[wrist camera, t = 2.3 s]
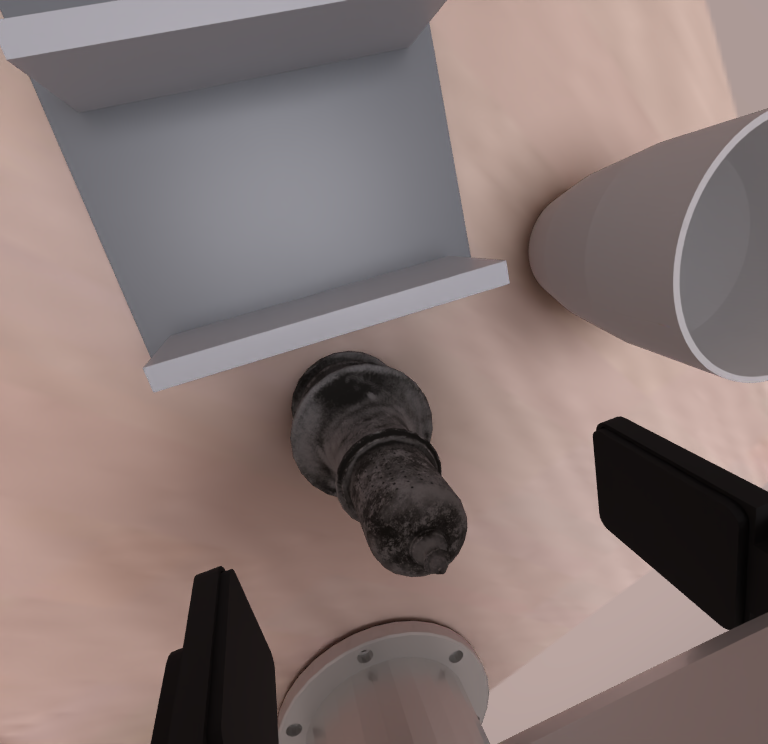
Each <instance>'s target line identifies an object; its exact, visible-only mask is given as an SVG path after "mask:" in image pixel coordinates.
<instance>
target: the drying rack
mask: <svg viewBox="0 0 768 744" xmlns="http://www.w3.org/2000/svg"><path fill="white" fill-rule="evenodd" d="M446 1H447V0H0V10H1V12H2V14H3V17H4V19H0V46H1V48H2V50H3V53H4V55H5V57H6V60H8V61H9V62H10V63H12V64H13V65H14V66H16V67H17V68H19V69H20V70H21V71H23V72H24V73H25V74H27V75H28V76H29V77H30V79H31V81H32V84H33V86H34V88H35V91H36V93H37V95H38V98H39V100H40V102H41V105H42V107H43V109H44V111H45V114H46V116H47V118H48V121H49V123H50V125H51V128H52V130H53V132H54V135H55V137H56V139H57V142H58V144H59V146H60V148H61V151H62V153H63V155H64V158H65V160H66V162H67V165H68V167H69V169H70V172H71V174H72V176H73V179H74V181H75V183H76V186H77V188H78V190H79V192H80V195H81V197H82V199H83V202H84V204H85V206H86V209H87V211H88V213H89V216H90V218H91V220H92V223H93V225H94V227H95V230H96V232H97V234H98V236H99V239H100V241H101V243H102V246H103V248H104V250H105V253H106V255H107V257H108V260H109V262H110V264H111V267H112V269H113V271H114V273H115V276H116V278H117V280H118V283H119V285H120V287H121V290H122V292H123V294H124V297H125V299H126V301H127V304H128V306H129V308H130V311H131V313H132V315H133V317H134V320H135V322H136V324H137V327H138V329H139V331H140V334H141V336H142V338H143V341H144V343H145V345H146V348H147V350H148V352H149V355H150V357H151V359H150V360H149V361H148V362H147V364H146V365H145V366H144V367H143V370H144V372H145V374H146V377H147V379H148V381H149V383H150V386H151V388H152V390H153V392H157V391H160V390H164V389H167V388H170V387H173V386H177V385H180V384H183V383H186V382H190V381H193V380H196V379H200V378H203V377H206V376H209V375H213V374H216V373H219V372H222V371H226V370H229V369H232V368H235V367H239V366H242V365H245V364H249V363H252V362H255V361H258V360H262V359H265V358H268V357H271V356H275V355H278V354H281V353H285V352H288V351H291V350H294V349H298V348H301V347H304V346H307V345H311V344H314V343H317V342H320V341H324V340H327V339H330V338H334V337H337V336H340V335H343V334H347V333H350V332H353V331H356V330H360V329H363V328H366V327H370V326H373V325H376V324H379V323H383V322H386V321H389V320H392V319H396V318H399V317H402V316H405V315H409V314H412V313H415V312H419V311H422V310H425V309H428V308H432V307H435V306H438V305H441V304H445V303H448V302H451V301H455V300H458V299H461V298H464V297H468V296H471V295H474V294H477V293H481V292H484V291H487V290H490V289H494V288H497V287H500V286H504V285H507V284H510V282H509V276H508V269H507V263H506V260H494V259H482V258H471V255H470V250H469V244H468V238H467V233H466V227H465V222H464V216H463V210H462V205H461V199H460V193H459V188H458V182H457V177H456V171H455V165H454V160H453V154H452V148H451V143H450V137H449V131H448V126H447V120H446V115H445V109H444V103H443V98H442V92H441V86H440V81H439V75H438V70H437V64H436V58H435V53H434V47H433V41H432V36H431V30H430V25H429V22H430V20H431V19H432V18H433V17H434V15H435V14H436V13H437V12H438V11H439V9H440V8H441V7H442V6H443V4H444V3H445V2H446Z"/></svg>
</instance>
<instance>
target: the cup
mask: <svg viewBox="0 0 768 744" xmlns="http://www.w3.org/2000/svg"><path fill="white" fill-rule="evenodd" d="M529 262H530V266H531V270H532V272H533V275H534V277H535V278H536V280H537V282H538V283H539V284H540V285H541V286H542V287H543V288H544V289H545V290H546V291H547V292H548V293H549V294H550V295H552V296H553V297H554V298H555V299H556V300H557V301H558V302H559V303H560V304H562V305H563V306H564V307H565V308H566V309H567V310H569V311H570V312H572V313H573V314H575V315H577V316H579V317H580V318H582V319H584V320H586V321H588V322H590V323H592V324H594V325H595V326H597V327H599V328H601V329H603V330H605V331H607V332H608V333H610V334H612V335H614V336H616V337H618V338H620V339H621V340H623V341H625V342H627V343H630V344H633V345H635V346H638V347H641V348H643V349H646V350H649V351H652V352H654V353H657V354H660V355H663V356H665V357H668V358H671V359H673V360H676V361H679V362H682V363H684V364H687V365H690V366H692V367H695V368H698V369H701V370H703V371H706V372H709V373H712V374H714V375H717V376H720V377H722V378H725V379H728V380H732V381H736V382H743V383H757V382H764V381H768V108H767V109H764V110H761V111H758V112H755V113H752V114H749V115H745V116H742V117H739V118H736V119H732V120H729V121H726V122H723V123H720V124H717V125H714V126H710V127H707V128H704V129H701V130H698V131H695V132H691V133H688V134H685V135H682V136H679V137H676V138H672V139H669V140H666V141H663V142H660V143H658V144H656V145H653V146H651V147H649V148H647V149H645V150H643V151H640V152H638V153H636V154H634V155H632V156H629V157H627V158H625V159H623V160H621V161H619V162H616V163H614V164H612V165H610V166H608V167H606V168H603V169H601V170H599V171H597V172H595V173H593V174H591V175H589V176H587V177H585V178H584V179H582V180H581V181H580V182H578V183H577V184H576V185H574V186H573V187H572V188H570V189H569V190H567V191H566V192H565V193H563V194H562V195H561V196H559V197H558V198H557V199H555V200H554V201H553V202H551V203H550V204H549V205H548V206H547V207H546V208H545V209H544V210H543V211H542V213H541V214H540V216H539V217H538V219H537V221H536V223H535V225H534V227H533V230H532V233H531V236H530V241H529Z"/></svg>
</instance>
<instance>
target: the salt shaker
mask: <svg viewBox="0 0 768 744" xmlns="http://www.w3.org/2000/svg"><path fill="white" fill-rule="evenodd" d="M291 409H292V415H293V421H292V429H291V437H290V439H291V446H292V452H293V457H294V459H295V461H296V464H297V466H298V468H299V470H300V472H301V473H302V474H303V475H304V476H305V478H306V479H307V480H308V481H309V482H310V483H311V484H312V485H313V486H315V487H316V488H318V489H320V490H321V491H323V492H325V493H326V494H329V495H332V496H336V497H338V499H339V501H340V503H341V505H342V507H343V509H344V510H345V511H346V512H347V513H348V514H349V515H350V517H351V518H353V519H355V520H356V521H358V522H360V524H361V527H362V529H363V532H364V535H365V537H366V540H367V543H368V545H369V547H370V549H371V551H372V553H373V555H374V556H375V558H376V559H377V560H378V561H379V562H380V563H381V564H382V565H383V566H384V567H385V568H386V569H388V570H390V571H391V572H393V573H395V574H399V575H404V576H409V577H421V576H426V575H430V574H444V573H445V572H446V570H447V568H448V564H449V563H451V562H452V561H453V560H454V558H455V557H456V556H457V555H458V553H459V551H460V549H461V547H462V545H463V543H464V540H465V537H466V532H467V516H466V513H465V511H464V508H463V505H462V503H461V500H460V499H459V498H458V496H457V495H456V494H455V492H454V491H453V490H452V489H451V487H450V486H449V485H448V484H447V482H446V481H445V480H444V479H443V477H442V476H441V475H442V474H441V462H440V460H439V457H438V454H437V452H436V450H435V449H434V448H433V446H432V445H431V444H430V440H431V435H432V430H433V429H432V413H431V410H430V407H429V404H428V401H427V399H426V396H425V395H424V394H423V392H422V391H421V389H420V388H419V387H418V385H417V384H416V383H415V382H414V381H413V380H411V379H410V378H409V377H408V376H406V375H405V374H404V373H402V372H401V371H398V370H396V369H393V368H390V367H388V366H386V365H385V364H384V363H383V362H381V361H380V360H379V359H377V358H376V357H373V356H370V355H368V354H365V353H361V352H352V351H347V352H340V353H334V354H332V355H329V356H327V357H325V358H322V359H320V360H319V361H317V362H316V363H315V364H314V365H312V366H311V367H310V368H308V369H307V371H306V372H305V373H304V375H303V376H302V377H301V378H300V380H299V381H298V384H297V386H296V389H295V391H294V393H293V400H292V407H291Z"/></svg>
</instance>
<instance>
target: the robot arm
mask: <svg viewBox="0 0 768 744" xmlns="http://www.w3.org/2000/svg"><path fill="white" fill-rule="evenodd" d="M593 445H594V457H595V468H596V480H597V491H598V503H599V514H600V518H601V521H602V523H603V524H604V526H605V527H606V528H607V529H608V530H609V531H610V532H611V533H613V534H614V535H615V536H616V537H617V538H618V539H620V540H621V541H622V542H623V543H624V544H625V545H627V546H628V547H629V548H630V549H631V550H633V551H634V552H635V553H636V554H637V555H638V556H640V557H641V558H642V559H643V560H644V561H645V562H647V563H648V564H649V565H650V566H651V567H652V568H654V569H655V570H656V571H657V572H658V573H660V574H661V575H662V576H663V577H664V578H665V579H667V580H668V581H669V582H670V583H671V584H673V585H674V586H675V587H676V588H677V589H678V590H679V591H681V592H682V593H683V594H684V595H685V596H686V597H688V598H689V599H690V600H691V601H692V602H694V603H695V604H696V605H697V606H698V607H700V608H701V609H702V610H703V611H704V612H705V613H707V614H708V615H709V616H710V617H711V618H712V619H714V620H715V621H716V622H717V623H718V624H719V625H721V626H722V627H723V628H725V629H728V630H729V631H727V632H725V633H723V634H721V635H719V636H717V637H715V638H713V639H711V640H709V641H706V642H705V643H702V644H700V645H698V646H696V647H694V648H692V649H690V650H688V651H686V652H684V653H682V654H680V655H678V656H676V657H673V658H671V659H669V660H667V661H665V662H663V663H661V664H659V665H657V666H655V667H653V668H651V669H649V670H646V671H645V672H642V673H640V674H638V675H636V676H634V677H632V678H630V679H628V680H626V681H625V682H622V683H620V684H618V685H616V686H614V687H612V688H610V689H608V690H606V691H604V692H602V693H600V694H598V695H595V696H593V697H591V698H589V699H587V700H585V701H583V702H581V703H579V704H577V705H575V706H573V707H571V708H569V709H567V710H565V711H563V712H561V713H559V714H557V715H555V716H553V717H551V718H549V719H547V720H545V721H543V722H541V723H539V724H537V725H534V726H532V727H531V728H528V729H526V730H524V731H522V732H520V733H518V734H516V735H514V736H512V737H510V738H508V739H506V740H504V741H502V742H500V743H498V744H768V492H767V491H765V490H763V489H762V488H760V487H758V486H756V485H754V484H752V483H750V482H748V481H746V480H744V479H742V478H740V477H738V476H736V475H734V474H732V473H731V472H729V471H727V470H725V469H723V468H721V467H719V466H717V465H715V464H713V463H711V462H709V461H707V460H705V459H703V458H701V457H700V456H698V455H696V454H694V453H692V452H690V451H688V450H686V449H684V448H682V447H680V446H678V445H676V444H674V443H672V442H670V441H668V440H667V439H665V438H663V437H661V436H659V435H657V434H655V433H653V432H651V431H649V430H647V429H645V428H643V427H641V426H639V425H637V424H636V423H634V422H632V421H630V420H628V419H626V418H624V417H621V416H620V417H616V418H613V419H610V420H608V421H605V422H602V423H600V424H598V426H597V428H596V431H595V432H594V433H593ZM488 696H489V688H488V679H487V675H486V673H485V670H484V667H483V665H482V663H481V661H480V659H479V658H478V656H477V654H476V652H475V651H474V649H473V647H472V646H471V645H470V644H469V643H468V642H467V641H466V640H465V639H464V638H463V637H462V636H461V635H459V634H457V633H456V632H454V631H452V630H451V629H449V628H446V627H443V626H440V625H437V624H434V623H428V622H420V621H404V622H392V623H388V624H383V625H379V626H374V627H371V628H369V629H366V630H364V631H361V632H358V633H356V634H353V635H351V636H349V637H348V638H346V639H344V640H342V641H341V642H339V643H337V644H335V645H333V646H332V647H331V648H329V649H328V650H327V651H325V652H324V653H323V654H321V655H320V656H319V657H318V658H316V659H315V660H314V661H313V662H312V663H311V664H310V665H309V666H308V667H307V668H306V669H305V670H304V671H303V672H302V673H301V674H300V675H299V677H298V678H297V680H296V681H295V683H294V684H293V686H292V687H291V688H290V690H289V691H288V693H287V695H286V697H285V700H284V702H283V704H282V706H281V708H280V711H279V716H278V719H277V701H276V682H275V667H274V661H273V657H272V654H271V651H270V649H269V647H268V644H267V642H266V640H265V638H264V635H263V633H262V631H261V629H260V627H259V624H258V622H257V620H256V618H255V616H254V613H253V611H252V609H251V607H250V604H249V602H248V600H247V598H246V596H245V593H244V591H243V589H242V587H241V585H240V582H239V580H238V578H237V576H236V573H235V572H234V570H233V569H230V570H228V571H225V569H224V568H223V567H222V566H219V567H217V568H214V569H211V570H209V571H206V572H203V573H201V574H198V575H196V576H195V578H194V583H193V589H192V595H191V601H190V608H189V614H188V620H187V626H186V633H185V639H184V645H183V648H181V649H179V650H176V651H174V652H171V654H170V655H169V656H168V660H167V663H166V667H165V673H164V678H163V683H162V688H161V693H160V698H159V704H158V709H157V714H156V719H155V724H154V729H153V735H152V740H151V744H490V743H489V741H488V738H487V736H486V734H485V732H484V730H483V728H482V726H481V724H482V722H483V719H484V716H485V712H486V710H487V704H488Z"/></svg>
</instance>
